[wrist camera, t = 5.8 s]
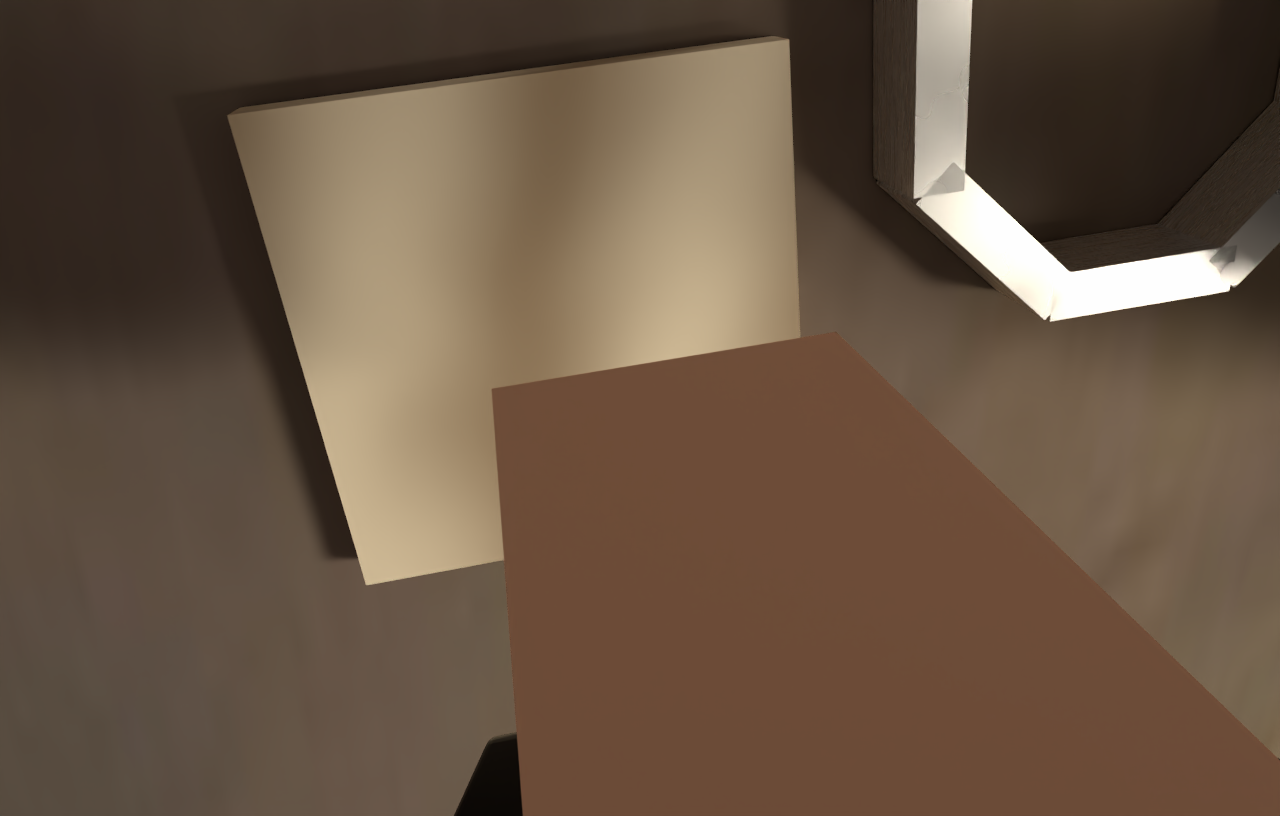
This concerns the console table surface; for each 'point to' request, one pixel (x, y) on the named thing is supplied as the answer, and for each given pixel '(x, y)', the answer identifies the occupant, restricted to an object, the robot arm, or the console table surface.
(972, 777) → the peg
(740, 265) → the maple board
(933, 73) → the metal ring
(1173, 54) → the console table surface
